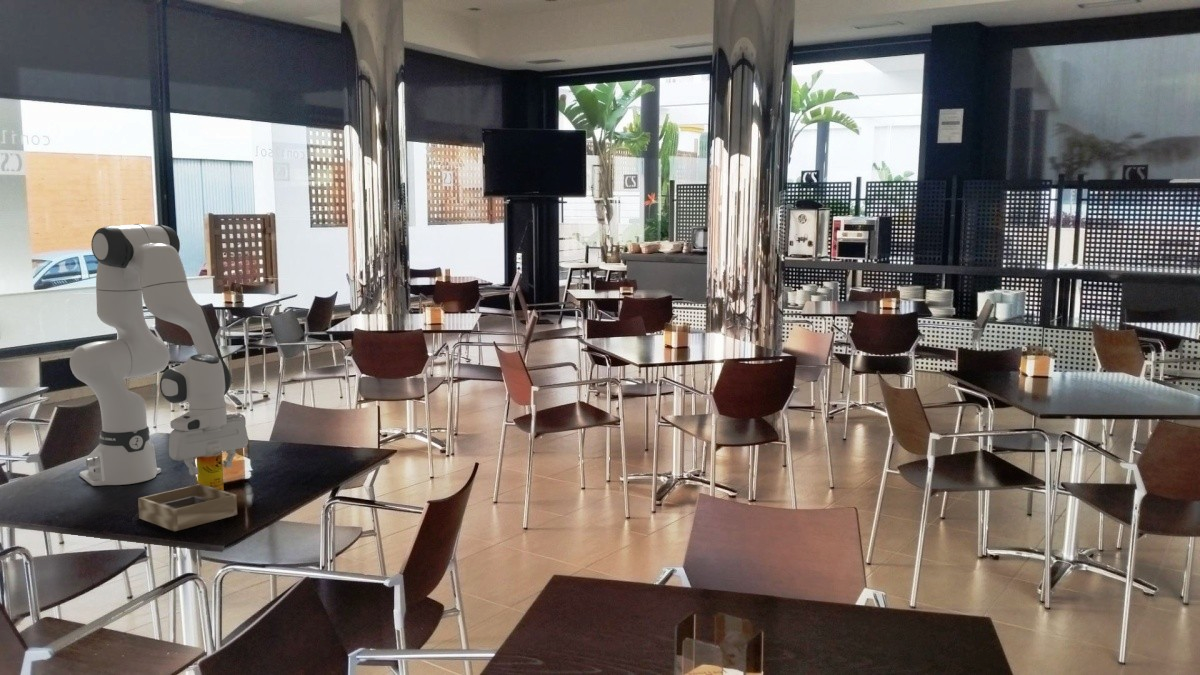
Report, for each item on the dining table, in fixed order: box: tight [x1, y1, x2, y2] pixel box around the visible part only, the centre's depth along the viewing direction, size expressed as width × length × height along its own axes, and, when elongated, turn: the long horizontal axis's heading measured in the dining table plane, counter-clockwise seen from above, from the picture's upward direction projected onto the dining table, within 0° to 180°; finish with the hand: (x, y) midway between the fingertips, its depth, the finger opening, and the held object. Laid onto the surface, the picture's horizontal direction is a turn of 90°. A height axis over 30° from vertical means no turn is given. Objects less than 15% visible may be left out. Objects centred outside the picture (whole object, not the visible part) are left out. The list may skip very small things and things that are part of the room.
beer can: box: [196, 442, 225, 491], centre depth 244 cm, size 6×6×15 cm
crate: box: [137, 483, 238, 532], centre depth 229 cm, size 16×16×5 cm
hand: (211, 470), depth 244 cm, fingers open, 8 cm apart
